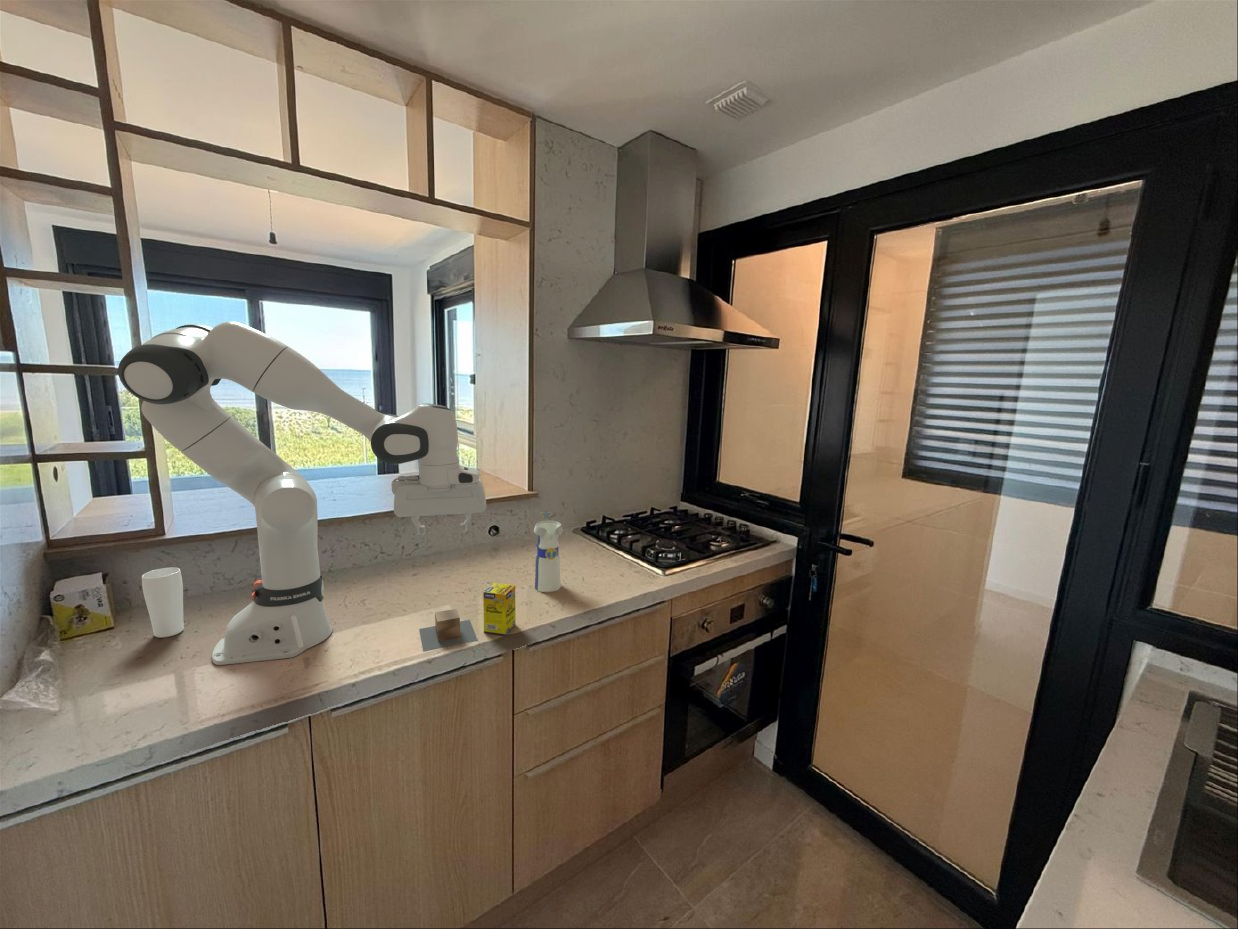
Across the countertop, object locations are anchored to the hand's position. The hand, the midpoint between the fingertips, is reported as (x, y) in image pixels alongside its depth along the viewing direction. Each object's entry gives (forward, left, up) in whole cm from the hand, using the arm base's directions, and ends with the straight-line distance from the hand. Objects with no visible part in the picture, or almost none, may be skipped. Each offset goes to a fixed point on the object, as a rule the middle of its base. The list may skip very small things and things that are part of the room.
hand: (442, 532), depth 117 cm
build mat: (0, -2, -25) cm, 25 cm away
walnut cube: (0, -2, -25) cm, 25 cm away
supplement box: (+12, -4, -25) cm, 28 cm away
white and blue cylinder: (+31, +16, -25) cm, 43 cm away
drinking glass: (-59, +25, -25) cm, 69 cm away
